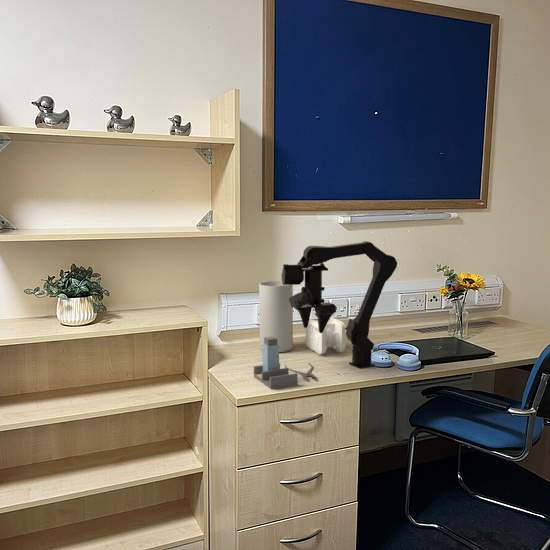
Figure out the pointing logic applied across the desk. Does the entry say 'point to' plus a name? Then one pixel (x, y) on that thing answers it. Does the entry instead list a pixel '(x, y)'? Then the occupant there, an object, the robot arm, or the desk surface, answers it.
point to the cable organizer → (326, 336)
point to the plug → (270, 354)
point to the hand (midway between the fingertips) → (313, 330)
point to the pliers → (304, 375)
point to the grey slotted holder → (275, 377)
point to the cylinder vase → (276, 313)
